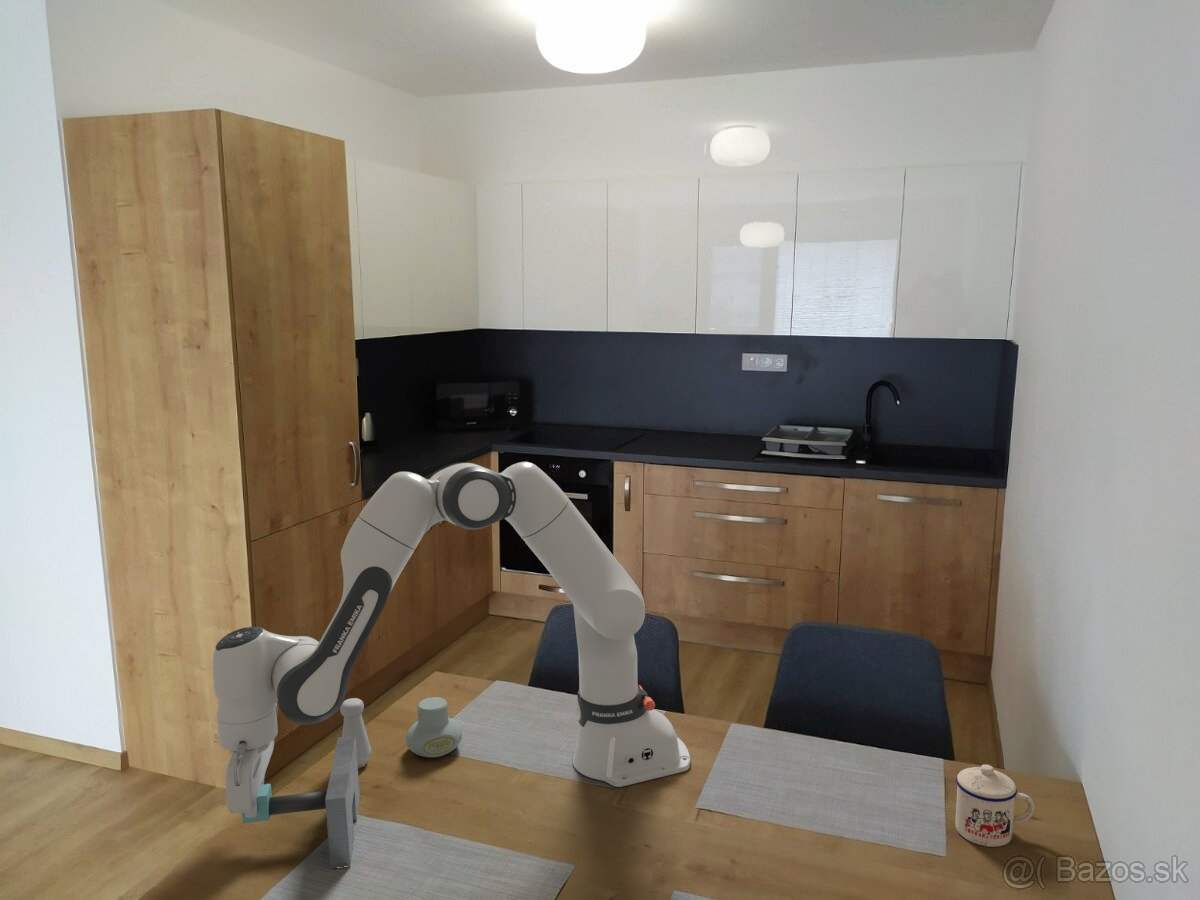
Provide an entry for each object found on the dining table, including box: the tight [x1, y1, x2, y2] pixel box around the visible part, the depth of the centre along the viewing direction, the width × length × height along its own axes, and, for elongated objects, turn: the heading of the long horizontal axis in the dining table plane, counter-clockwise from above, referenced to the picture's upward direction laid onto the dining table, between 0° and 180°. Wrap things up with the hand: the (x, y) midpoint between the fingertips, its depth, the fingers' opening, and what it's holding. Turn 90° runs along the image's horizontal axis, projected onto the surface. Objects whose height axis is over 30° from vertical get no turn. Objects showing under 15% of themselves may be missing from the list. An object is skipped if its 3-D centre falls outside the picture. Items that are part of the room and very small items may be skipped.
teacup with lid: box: [954, 764, 1035, 848], centre depth 143 cm, size 12×9×12 cm
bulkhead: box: [325, 736, 361, 869], centre depth 147 cm, size 3×20×12 cm, turn 11°
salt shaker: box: [339, 697, 372, 769], centre depth 168 cm, size 6×6×13 cm
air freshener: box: [405, 696, 463, 759], centre depth 173 cm, size 11×8×10 cm
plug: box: [241, 783, 327, 824], centre depth 145 cm, size 13×4×4 cm, turn 101°
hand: (255, 806), depth 144 cm, fingers closed on plug, 4 cm apart
